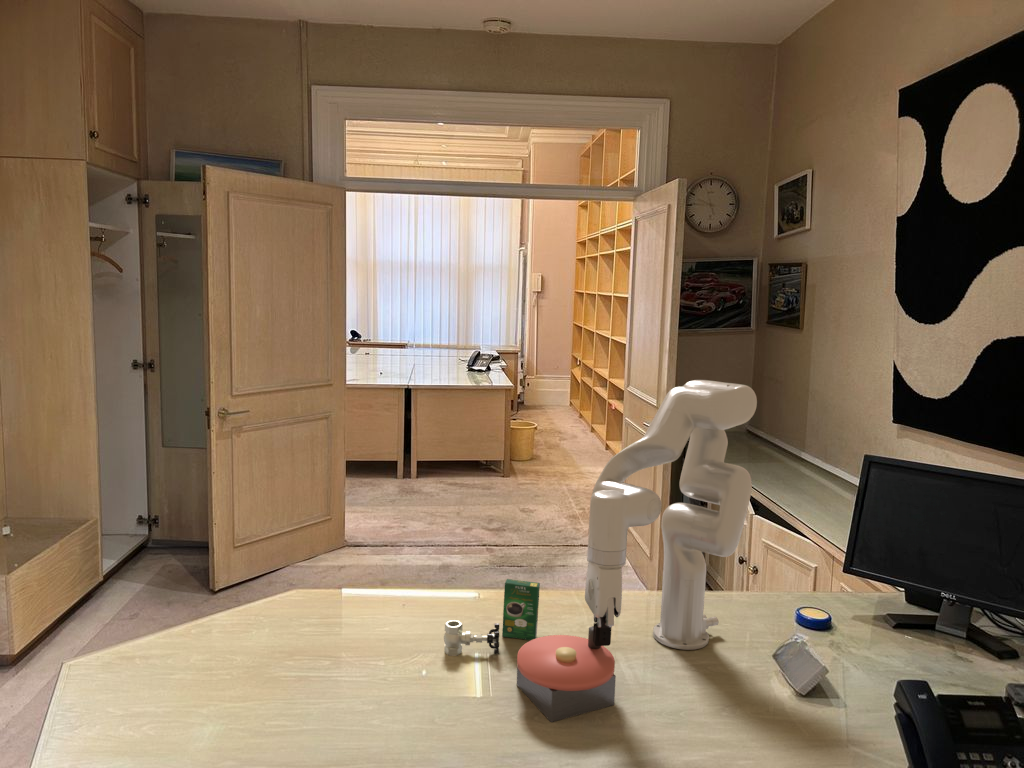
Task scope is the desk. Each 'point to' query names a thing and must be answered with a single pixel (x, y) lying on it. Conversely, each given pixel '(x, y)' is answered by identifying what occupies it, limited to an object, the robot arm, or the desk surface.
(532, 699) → the block
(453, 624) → the valve
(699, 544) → the robot arm
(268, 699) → the desk surface
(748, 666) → the desk surface
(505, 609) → the coffee box
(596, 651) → the handwheel
